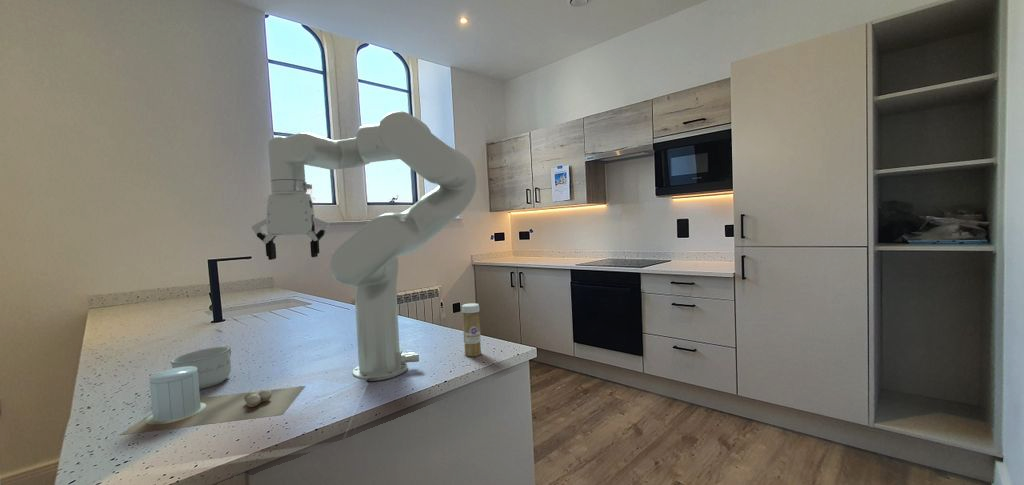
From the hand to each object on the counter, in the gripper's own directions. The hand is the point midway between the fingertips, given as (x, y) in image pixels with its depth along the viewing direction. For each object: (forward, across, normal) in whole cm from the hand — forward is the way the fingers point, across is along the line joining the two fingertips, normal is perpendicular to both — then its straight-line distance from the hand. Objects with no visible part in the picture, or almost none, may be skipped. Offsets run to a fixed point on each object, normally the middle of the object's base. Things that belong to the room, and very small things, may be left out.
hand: (293, 258), depth 100 cm
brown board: (+28, +8, +21) cm, 36 cm away
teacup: (+29, +19, +3) cm, 34 cm away
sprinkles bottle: (+28, -43, +2) cm, 52 cm away
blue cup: (+27, +16, +21) cm, 38 cm away
